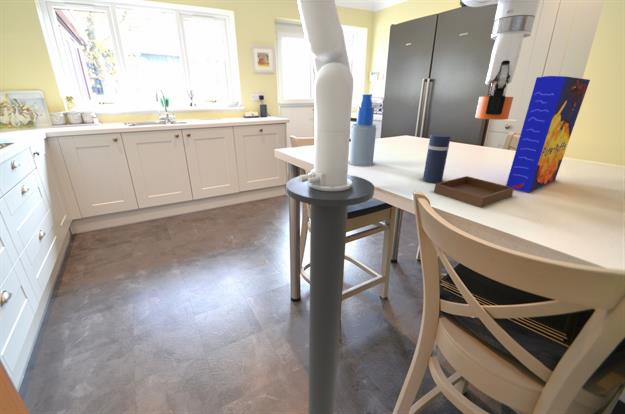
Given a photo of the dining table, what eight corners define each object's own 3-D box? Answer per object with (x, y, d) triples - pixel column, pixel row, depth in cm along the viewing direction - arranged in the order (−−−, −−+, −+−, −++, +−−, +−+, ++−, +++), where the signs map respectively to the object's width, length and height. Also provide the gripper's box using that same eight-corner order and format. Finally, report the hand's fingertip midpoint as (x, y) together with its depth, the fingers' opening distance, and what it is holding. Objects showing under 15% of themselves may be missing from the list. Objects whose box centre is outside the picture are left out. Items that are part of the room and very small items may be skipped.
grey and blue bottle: (376, 162, 111) (383, 94, 102) (367, 167, 104) (374, 94, 95) (355, 159, 116) (360, 94, 106) (345, 163, 109) (350, 93, 99)
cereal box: (528, 192, 79) (566, 75, 68) (505, 187, 84) (537, 76, 73) (554, 180, 91) (590, 78, 80) (533, 176, 96) (564, 79, 85)
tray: (481, 207, 69) (483, 197, 68) (433, 192, 79) (435, 183, 78) (511, 196, 76) (514, 187, 75) (464, 183, 87) (466, 176, 86)
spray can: (434, 184, 86) (443, 137, 81) (418, 179, 90) (426, 134, 85) (445, 181, 89) (454, 136, 83) (430, 177, 93) (437, 133, 88)
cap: (498, 120, 66) (504, 96, 64) (469, 117, 71) (473, 96, 69) (513, 118, 69) (519, 96, 67) (484, 116, 74) (488, 96, 73)
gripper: (490, 37, 72) (474, 111, 78) (495, 23, 57) (475, 115, 64) (525, 34, 68) (506, 112, 75) (540, 19, 54) (514, 116, 61)
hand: (492, 112), depth 70 cm, fingers closed on cap, 7 cm apart
